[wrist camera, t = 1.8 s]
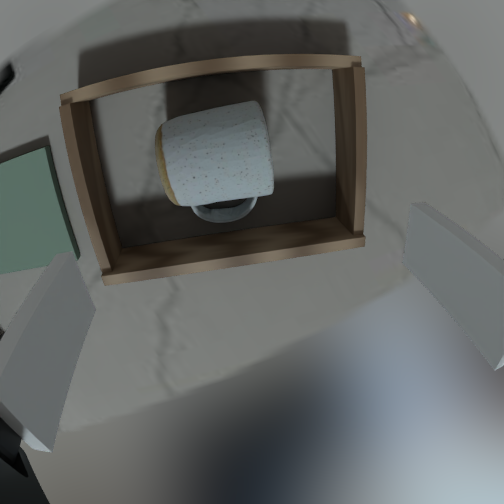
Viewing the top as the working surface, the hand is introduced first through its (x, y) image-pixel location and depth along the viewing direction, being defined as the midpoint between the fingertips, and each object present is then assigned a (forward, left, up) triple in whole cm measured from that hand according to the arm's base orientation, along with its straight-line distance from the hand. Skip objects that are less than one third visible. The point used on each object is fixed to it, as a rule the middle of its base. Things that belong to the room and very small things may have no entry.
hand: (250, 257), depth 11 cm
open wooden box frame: (0, 0, -18) cm, 18 cm away
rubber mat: (-22, -2, -18) cm, 29 cm away
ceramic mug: (0, -1, -19) cm, 19 cm away
